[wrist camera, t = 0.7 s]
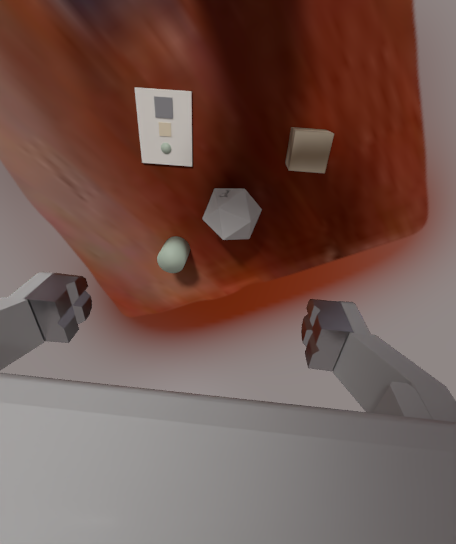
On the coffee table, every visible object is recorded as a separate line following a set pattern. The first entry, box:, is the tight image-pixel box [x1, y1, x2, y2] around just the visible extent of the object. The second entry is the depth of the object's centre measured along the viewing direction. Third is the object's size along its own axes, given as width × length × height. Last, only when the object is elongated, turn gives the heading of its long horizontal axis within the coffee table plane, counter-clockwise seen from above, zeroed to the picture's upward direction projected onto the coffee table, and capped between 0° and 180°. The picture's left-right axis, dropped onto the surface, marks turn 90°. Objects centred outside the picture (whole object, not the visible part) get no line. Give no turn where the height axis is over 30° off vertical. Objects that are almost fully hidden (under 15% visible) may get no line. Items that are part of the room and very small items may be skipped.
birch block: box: [285, 127, 334, 173], centre depth 40 cm, size 5×5×5 cm
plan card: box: [135, 87, 192, 167], centre depth 41 cm, size 10×8×1 cm
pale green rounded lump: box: [157, 236, 190, 273], centre depth 50 cm, size 5×5×5 cm
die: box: [202, 188, 262, 240], centre depth 44 cm, size 8×9×10 cm
